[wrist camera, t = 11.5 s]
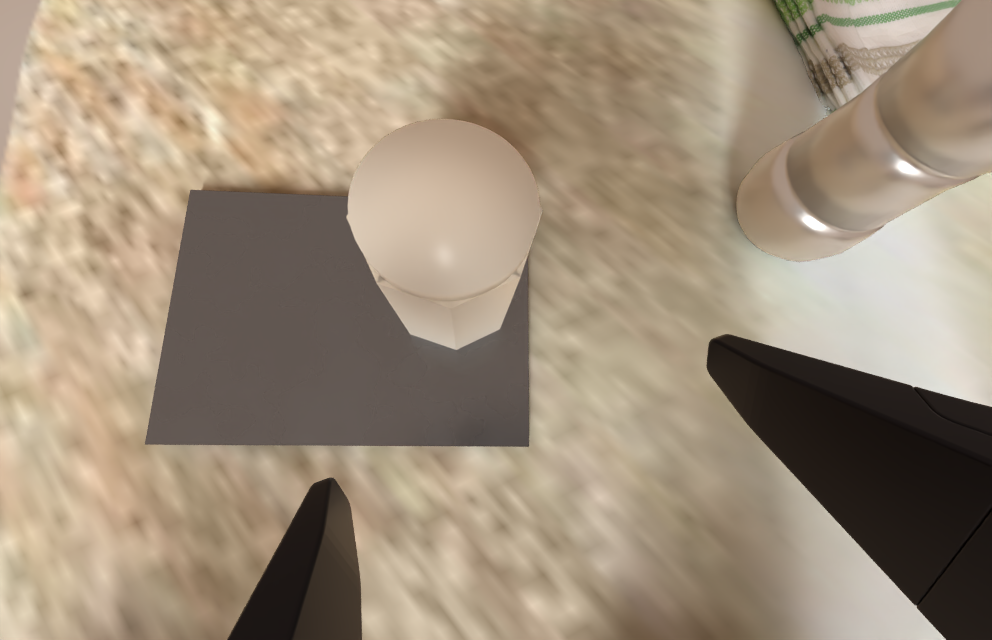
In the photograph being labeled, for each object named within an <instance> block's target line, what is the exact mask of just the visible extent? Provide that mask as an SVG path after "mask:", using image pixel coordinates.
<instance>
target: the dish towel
mask: <svg viewBox="0 0 992 640" xmlns="http://www.w3.org/2000/svg"><path fill="white" fill-rule="evenodd" d="M960 1H961V0H774V2H775V4H776V7H777V9H778V11H779V12H780V14H781V17H782V19H783V20H784V22H785V23H786V26H787V28H788V30H789V31H790V33H791V34H792V36H793V38H794V41H795V43H796V45H797V49H798V51H799V53H800V54H801V56H802V59H803V62H804V65H805V67H806V70H807V72H808V75H809V78H810V80H811V82H812V84H813V87H814V89H815V90H816V93H817V96H818V98H819V100H820V101H821V103H822V105H823V106H824V107H826V108H827V107H829V108H830V109H831V110H828V109H827V111H826V113H827V116H828V115H830V114H831V113H833V112H834V111H835V110H837V109H838V108H840V107H841V106H843V105H844V104H845V103H847V102H848V101H850V100H851V99H853V98H854V97H856V96H857V95H858V94H860V93H861V92H863V91H864V90H865V89H866V88H867V87H868V86H870V85H871V84H872V83H873V82H874V81H875V80H876V79H877V78H879V77H880V76H881V75H882V74H884V73H885V72H887V71H888V69H889V68H890V67H891V66H892V65H893V64H895V63H896V62H897V61H898V60H899V59H900V58H901V57H903V56H904V55H905V54H906V53H907V52H908V51H909V50H911V49H912V48H913V47H914V46H915V45H916V44H917V43H919V42H920V41H921V40H922V39H923V38H924V37H925V36H927V35H928V34H929V33H930V32H931V31H932V29H933V28H934V27H935V26H936V25H937V24H938V23H939V22H940V21H941V20H942V19H943V18H944V17H945V16H946V15H947V14H948V13H949V12H950V11H951V10H952V9H953V8H954V7H955V6H956V5H957V4H958V3H959V2H960Z"/></svg>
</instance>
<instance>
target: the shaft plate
mask: <svg viewBox="0 0 992 640" xmlns="http://www.w3.org/2000/svg"><path fill="white" fill-rule="evenodd" d="M347 215H348V197H346V196H322V195H299V194H275V193H252V192H228V191H205V190H190V195H189V201H188V206H187V212H186V217H185V223H184V229H183V234H182V240H181V245H180V251H179V257H178V262H177V268H176V273H175V279H174V285H173V290H172V296H171V301H170V307H169V313H168V318H167V324H166V329H165V335H164V341H163V346H162V352H161V357H160V363H159V369H158V374H157V380H156V385H155V391H154V397H153V402H152V408H151V413H150V419H149V425H148V430H147V436H146V441H145V444H164V445H342V446H519V447H529V371H528V256H527V259H526V262H525V265H524V268H523V271H522V274H521V277H520V280H519V282H518V285H517V288H516V290H515V293H514V295H513V298H512V300H511V303H510V305H509V308H508V310H507V313H506V315H505V318H504V320H503V323H502V325H501V328H500V329H499V330H497V331H495V332H493V333H491V334H489V335H487V336H485V337H483V338H481V339H478V340H476V341H474V342H472V343H470V344H468V345H466V346H464V347H462V348H460V349H457V350H455V349H452V348H449V347H446V346H443V345H440V344H437V343H434V342H431V341H429V340H426V339H423V338H420V337H417V336H414V335H411V334H410V333H409V332H408V330H407V329H406V327H405V326H404V324H403V323H402V321H401V320H400V318H399V317H398V315H397V313H396V312H395V310H394V309H393V307H392V306H391V304H390V303H389V301H388V300H387V298H386V297H385V295H384V294H383V292H382V291H381V289H380V288H379V286H378V285H377V283H376V281H375V278H374V276H373V274H372V272H371V270H370V268H369V265H368V263H367V261H366V259H365V257H364V255H363V253H362V251H361V250H360V248H359V246H358V244H357V242H356V240H355V238H354V235H353V233H352V230H351V226H350V224H349V222H348V220H347V218H346V217H347Z"/></svg>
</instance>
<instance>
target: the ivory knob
mask: <svg viewBox="0 0 992 640" xmlns="http://www.w3.org/2000/svg"><path fill="white" fill-rule="evenodd" d="M542 212H543V210H542V208H541V206H540V199H539V193H538V188H537V184H536V181H535V178H534V176H533V174H532V172H531V170H530V167H529V166H528V164H527V163H526V161H525V160H524V158H523V157H522V156H521V154H520V153H519V152H518V151H517V150H516V149H515V148H514V147H513V146H512V145H511V144H510V143H509V142H508V141H506V140H505V139H504V138H502V137H501V136H499V135H498V134H496V133H494V132H493V131H491V130H489V129H487V128H485V127H482V126H480V125H477V124H474V123H470V122H467V121H462V120H455V119H430V120H424V121H419V122H415V123H412V124H409V125H406V126H404V127H401V128H399V129H397V130H395V131H393V132H392V133H390V134H388V135H387V136H385V137H384V138H382V139H381V140H380V141H379V142H377V143H376V144H375V145H374V146H373V147H372V148H371V149H370V150H369V151H368V152H367V154H366V155H365V156H364V158H363V159H362V160H361V162H360V164H359V166H358V167H357V169H356V171H355V173H354V176H353V179H352V181H351V185H350V189H349V194H348V215H347V217H346V218H347V220H348V222H349V224H350V226H351V230H352V233H353V235H354V238H355V240H356V242H357V244H358V246H359V248H360V250H361V251H362V253H363V255H364V257H365V259H366V261H367V263H368V265H369V268H370V270H371V272H372V274H373V276H374V278H375V281H376V283H377V285H378V286H379V288H380V289H381V291H382V292H383V294H384V295H385V297H386V298H387V300H388V301H389V303H390V304H391V306H392V307H393V309H394V310H395V312H396V313H397V315H398V317H399V318H400V320H401V321H402V323H403V324H404V326H405V327H406V329H407V330H408V332H409V333H410V334H411V335H414V336H417V337H420V338H423V339H426V340H429V341H431V342H434V343H437V344H440V345H443V346H446V347H449V348H452V349H455V350H457V349H460V348H462V347H464V346H466V345H468V344H470V343H472V342H474V341H476V340H478V339H481V338H483V337H485V336H487V335H489V334H491V333H493V332H495V331H497V330H499V329H500V328H501V325H502V323H503V320H504V318H505V315H506V313H507V310H508V308H509V305H510V303H511V300H512V298H513V295H514V293H515V290H516V288H517V285H518V282H519V280H520V277H521V274H522V271H523V268H524V265H525V262H526V259H527V256H528V253H529V250H530V248H531V245H532V242H533V239H534V237H535V234H536V231H537V227H538V224H539V221H540V218H541V215H542Z"/></svg>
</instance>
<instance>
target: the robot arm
mask: <svg viewBox="0 0 992 640" xmlns="http://www.w3.org/2000/svg"><path fill="white" fill-rule="evenodd" d="M707 370H708V372H709V374H710V376H711V377H712V378H713V380H714V381H715V382H716V384H717V385H718V386H719V388H720V389H721V390H722V392H723V393H724V394H725V396H726V397H727V398H728V400H729V401H730V402H731V404H732V405H733V406H734V408H735V409H736V410H737V412H738V413H739V414H740V415H741V417H742V418H743V419H744V421H745V422H746V423H747V424H748V425H749V427H750V428H751V429H752V430H753V431H754V432H755V433H756V435H757V436H758V437H759V438H760V439H761V440H762V441H763V442H764V443H765V444H766V445H767V446H768V447H769V449H770V450H771V451H772V452H773V453H774V454H775V455H776V456H777V457H778V458H779V459H780V460H781V461H782V463H783V464H784V465H785V466H786V467H787V468H788V469H789V470H790V471H791V472H792V473H793V474H794V476H795V477H796V478H797V479H798V480H799V481H800V482H801V483H802V484H803V485H804V486H805V487H806V488H807V490H808V491H809V492H810V493H811V494H812V495H813V496H814V497H815V498H816V499H817V500H818V501H819V502H820V504H821V505H822V506H823V507H824V508H825V509H826V510H827V511H828V512H829V513H830V514H831V515H832V516H833V518H834V519H835V520H836V521H837V522H838V523H839V524H840V525H841V526H842V527H843V528H844V529H845V531H846V532H847V533H848V534H849V535H850V536H851V537H852V538H853V539H854V540H855V541H856V542H857V543H858V545H859V546H860V547H861V548H862V549H863V550H864V551H865V552H866V553H867V554H868V555H869V556H870V557H871V559H872V560H873V561H874V562H875V563H876V564H877V565H878V566H879V567H880V568H881V569H882V570H883V572H884V573H885V574H886V575H887V576H888V577H889V578H890V579H891V580H892V581H893V582H894V583H895V584H896V586H897V587H898V588H899V589H900V590H901V591H902V592H903V593H904V594H905V595H906V596H907V597H908V598H909V600H910V601H911V602H912V603H913V604H914V605H917V609H918V610H919V611H920V612H921V613H922V614H923V615H924V616H925V617H926V618H927V619H928V620H929V622H930V623H931V624H932V625H933V626H934V627H935V628H936V629H937V630H938V631H939V632H940V633H941V634H942V636H943V637H944V638H945V639H946V640H992V407H990V406H986V405H981V404H977V403H973V402H970V401H966V400H962V399H958V398H955V397H951V396H947V395H943V394H940V393H936V392H933V391H929V390H925V389H922V388H918V387H914V388H913V387H912V386H911V385H907V384H904V383H900V382H897V381H893V380H890V379H886V378H883V377H879V376H875V375H872V374H868V373H865V372H861V371H858V370H854V369H851V368H847V367H844V366H840V365H836V364H833V363H829V362H826V361H822V360H819V359H815V358H812V357H808V356H804V355H801V354H797V353H794V352H790V351H787V350H783V349H780V348H776V347H772V346H769V345H765V344H762V343H758V342H755V341H751V340H748V339H744V338H741V337H737V336H733V335H729V334H725V335H721V336H719V337H716V338H713V339H712V340H711V341H710V342H709V347H708V356H707ZM227 640H362V620H361V583H360V573H359V565H358V557H357V550H356V542H355V535H354V527H353V520H352V513H351V507H350V503H349V501H348V499H347V497H346V496H345V494H344V492H343V491H342V489H341V488H340V486H339V485H338V483H337V482H336V480H335V479H334V478H327V479H324V480H322V481H319V482H316V483H314V484H313V485H312V486H311V487H310V489H309V491H308V493H307V495H306V496H305V498H304V500H303V502H302V504H301V506H300V507H299V509H298V511H297V513H296V515H295V517H294V518H293V520H292V522H291V524H290V526H289V528H288V529H287V531H286V533H285V535H284V537H283V538H282V540H281V542H280V544H279V546H278V548H277V549H276V551H275V553H274V555H273V557H272V559H271V560H270V562H269V564H268V566H267V568H266V570H265V571H264V573H263V575H262V577H261V579H260V581H259V582H258V584H257V586H256V588H255V590H254V592H253V593H252V595H251V597H250V599H249V601H248V603H247V604H246V606H245V608H244V610H243V612H242V614H241V615H240V617H239V619H238V621H237V623H236V625H235V626H234V628H233V630H232V632H231V634H230V635H229V637H228V639H227Z"/></svg>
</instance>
